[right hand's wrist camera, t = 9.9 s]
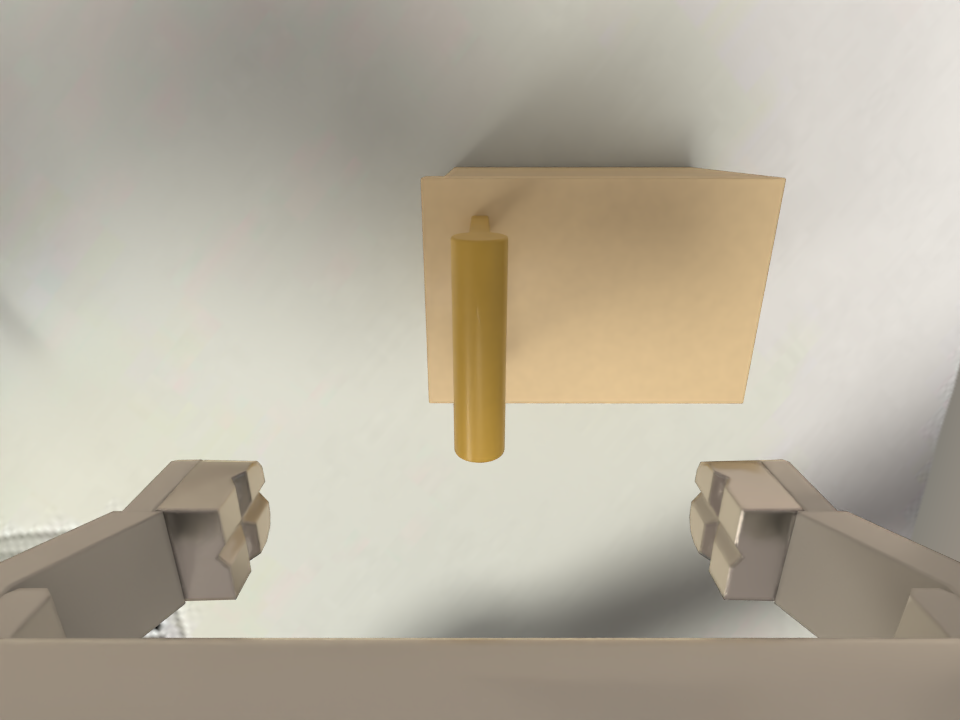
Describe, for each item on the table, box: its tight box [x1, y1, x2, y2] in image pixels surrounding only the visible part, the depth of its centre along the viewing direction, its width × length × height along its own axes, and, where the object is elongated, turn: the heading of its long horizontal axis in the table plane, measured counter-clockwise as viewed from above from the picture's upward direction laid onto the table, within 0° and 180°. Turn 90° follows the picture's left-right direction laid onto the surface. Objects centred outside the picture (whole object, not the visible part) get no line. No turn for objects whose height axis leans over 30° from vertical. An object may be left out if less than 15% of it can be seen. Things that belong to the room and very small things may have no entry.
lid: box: [421, 176, 786, 463], centre depth 21 cm, size 14×10×8 cm
